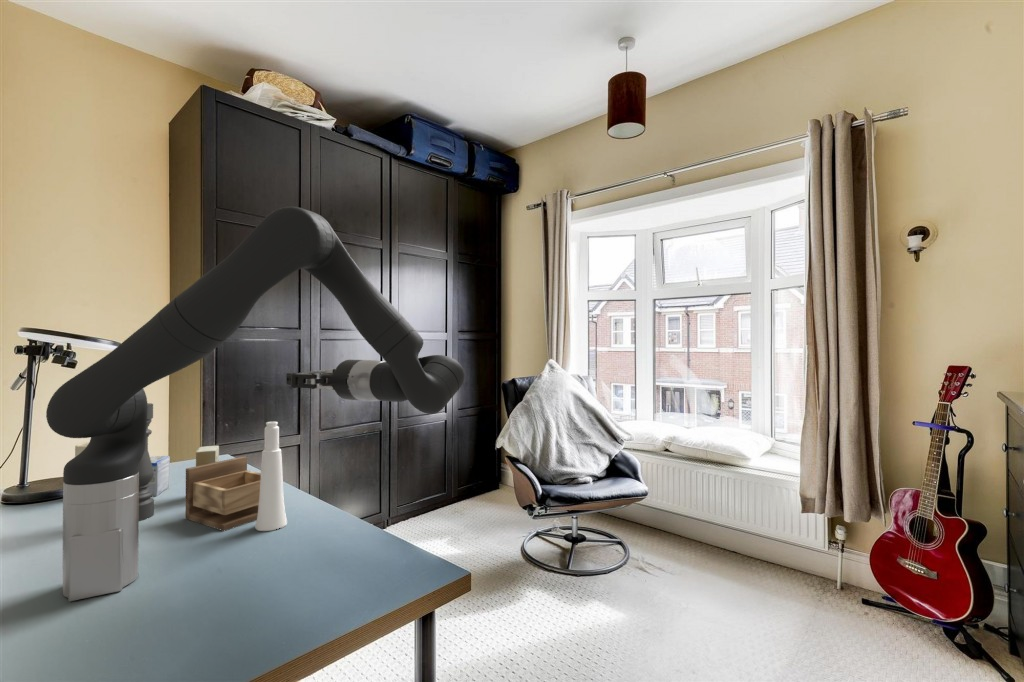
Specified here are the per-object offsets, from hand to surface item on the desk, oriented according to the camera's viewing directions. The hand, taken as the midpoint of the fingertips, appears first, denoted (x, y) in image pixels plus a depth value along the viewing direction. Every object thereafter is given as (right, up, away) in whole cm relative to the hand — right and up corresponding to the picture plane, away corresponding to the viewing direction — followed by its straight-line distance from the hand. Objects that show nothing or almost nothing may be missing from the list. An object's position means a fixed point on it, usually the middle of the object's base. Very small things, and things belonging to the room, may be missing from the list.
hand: (306, 377), depth 95 cm
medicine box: (-52, -32, +27) cm, 67 cm away
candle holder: (-42, -32, +10) cm, 54 cm away
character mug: (-66, -32, +26) cm, 78 cm away
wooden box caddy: (-21, -32, +11) cm, 40 cm away
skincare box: (-36, -32, +24) cm, 54 cm away
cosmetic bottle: (-10, -32, +5) cm, 34 cm away
